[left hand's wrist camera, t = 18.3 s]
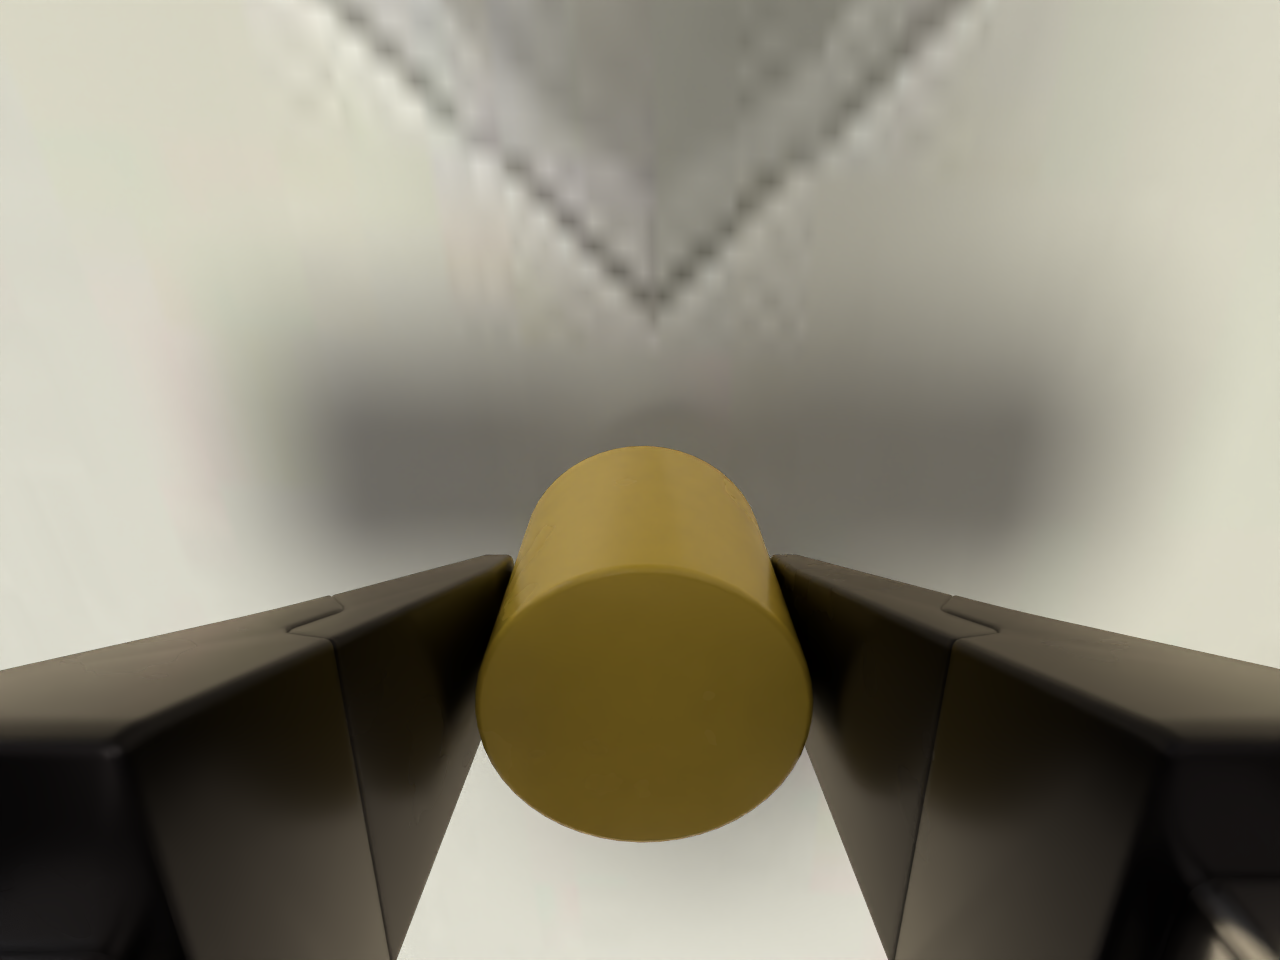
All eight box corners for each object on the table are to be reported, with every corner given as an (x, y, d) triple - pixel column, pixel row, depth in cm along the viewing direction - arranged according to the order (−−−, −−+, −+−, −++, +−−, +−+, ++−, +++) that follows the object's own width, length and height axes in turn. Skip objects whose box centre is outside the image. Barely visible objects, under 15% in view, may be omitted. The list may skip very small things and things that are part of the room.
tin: (671, 395, 11) (687, 498, 7) (805, 578, 12) (877, 747, 9) (476, 532, 12) (400, 687, 8) (618, 691, 13) (609, 890, 9)
